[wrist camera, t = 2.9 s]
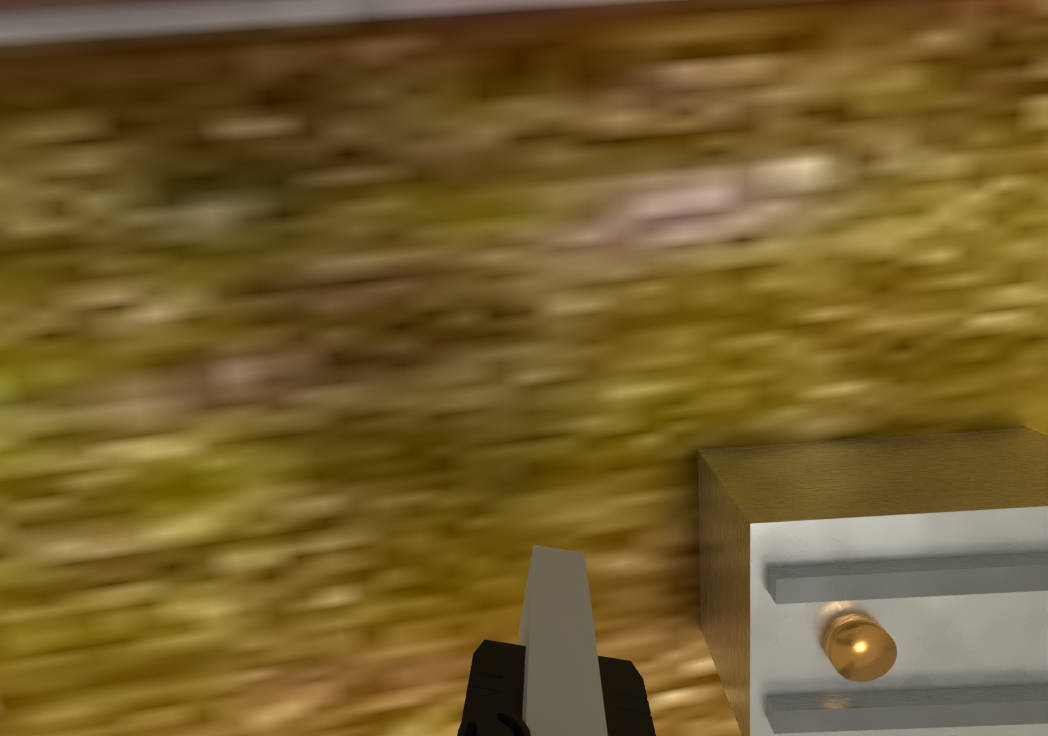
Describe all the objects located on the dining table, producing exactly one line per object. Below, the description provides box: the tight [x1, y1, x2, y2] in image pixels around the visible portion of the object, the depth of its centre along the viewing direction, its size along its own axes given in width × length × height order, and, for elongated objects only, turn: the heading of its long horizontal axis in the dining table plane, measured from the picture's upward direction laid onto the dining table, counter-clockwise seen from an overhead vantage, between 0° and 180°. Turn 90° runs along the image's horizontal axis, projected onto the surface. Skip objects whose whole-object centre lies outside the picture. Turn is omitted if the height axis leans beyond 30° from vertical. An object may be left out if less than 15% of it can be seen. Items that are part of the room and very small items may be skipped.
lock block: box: [698, 427, 1048, 736], centre depth 19 cm, size 8×12×7 cm, turn 95°
